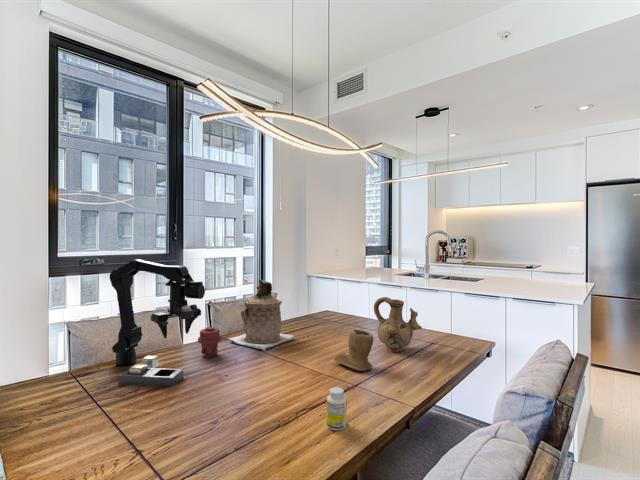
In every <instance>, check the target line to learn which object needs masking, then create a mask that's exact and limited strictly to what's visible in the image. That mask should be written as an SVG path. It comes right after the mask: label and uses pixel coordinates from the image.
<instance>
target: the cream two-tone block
mask: <svg viewBox="0 0 640 480" xmlns="http://www.w3.org/2000/svg"><path fill="white" fill-rule="evenodd" d="M141 365H147V368H159V356H158V355H146V356H144V357H142V360H141Z"/></svg>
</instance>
